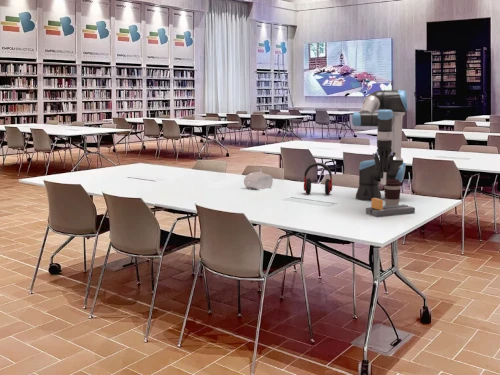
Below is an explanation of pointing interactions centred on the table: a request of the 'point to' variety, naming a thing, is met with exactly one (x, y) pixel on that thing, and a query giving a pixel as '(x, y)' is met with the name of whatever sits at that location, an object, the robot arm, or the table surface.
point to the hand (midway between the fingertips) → (383, 184)
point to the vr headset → (258, 180)
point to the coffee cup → (392, 192)
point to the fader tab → (377, 203)
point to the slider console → (391, 210)
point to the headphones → (327, 183)
